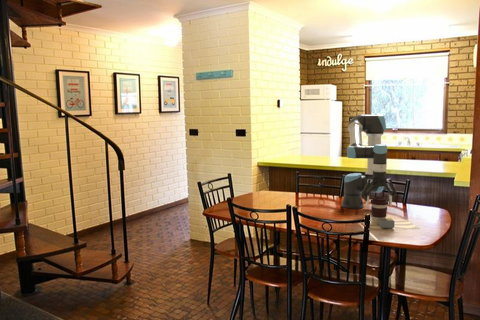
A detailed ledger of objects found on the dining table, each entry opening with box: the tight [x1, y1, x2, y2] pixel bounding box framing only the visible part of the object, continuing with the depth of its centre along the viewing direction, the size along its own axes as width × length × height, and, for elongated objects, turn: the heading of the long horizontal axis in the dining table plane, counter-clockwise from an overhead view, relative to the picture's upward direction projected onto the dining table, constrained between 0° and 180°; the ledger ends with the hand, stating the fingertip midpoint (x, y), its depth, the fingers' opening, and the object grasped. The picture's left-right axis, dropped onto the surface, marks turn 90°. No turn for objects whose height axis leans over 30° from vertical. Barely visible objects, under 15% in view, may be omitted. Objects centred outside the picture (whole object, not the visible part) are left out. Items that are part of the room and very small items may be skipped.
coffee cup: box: [369, 196, 389, 224], centre depth 236 cm, size 10×10×15 cm
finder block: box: [379, 217, 395, 230], centre depth 227 cm, size 5×7×5 cm
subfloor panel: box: [360, 219, 420, 231], centre depth 234 cm, size 18×28×2 cm, turn 91°
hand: (378, 206), depth 236 cm, fingers open, 13 cm apart
